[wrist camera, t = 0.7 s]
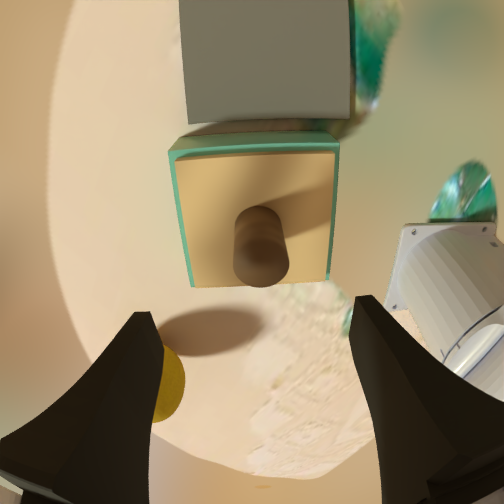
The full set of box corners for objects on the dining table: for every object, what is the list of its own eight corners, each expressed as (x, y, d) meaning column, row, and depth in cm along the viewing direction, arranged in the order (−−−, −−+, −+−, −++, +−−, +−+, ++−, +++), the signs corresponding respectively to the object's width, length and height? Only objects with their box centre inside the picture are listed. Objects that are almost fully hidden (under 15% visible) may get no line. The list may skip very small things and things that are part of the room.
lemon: (162, 314, 25) (142, 398, 18) (202, 353, 27) (194, 433, 21) (116, 334, 26) (92, 410, 19) (156, 369, 29) (143, 441, 22)
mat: (345, -11, 13) (347, -12, 12) (347, 118, 17) (349, 119, 17) (179, -9, 13) (178, -10, 12) (189, 123, 17) (188, 124, 17)
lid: (331, 150, 15) (357, 178, 12) (323, 274, 19) (337, 322, 16) (176, 158, 15) (157, 188, 12) (196, 281, 19) (188, 330, 16)
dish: (325, 130, 17) (339, 142, 15) (319, 252, 22) (328, 279, 19) (179, 137, 17) (167, 151, 15) (196, 259, 22) (190, 287, 19)
